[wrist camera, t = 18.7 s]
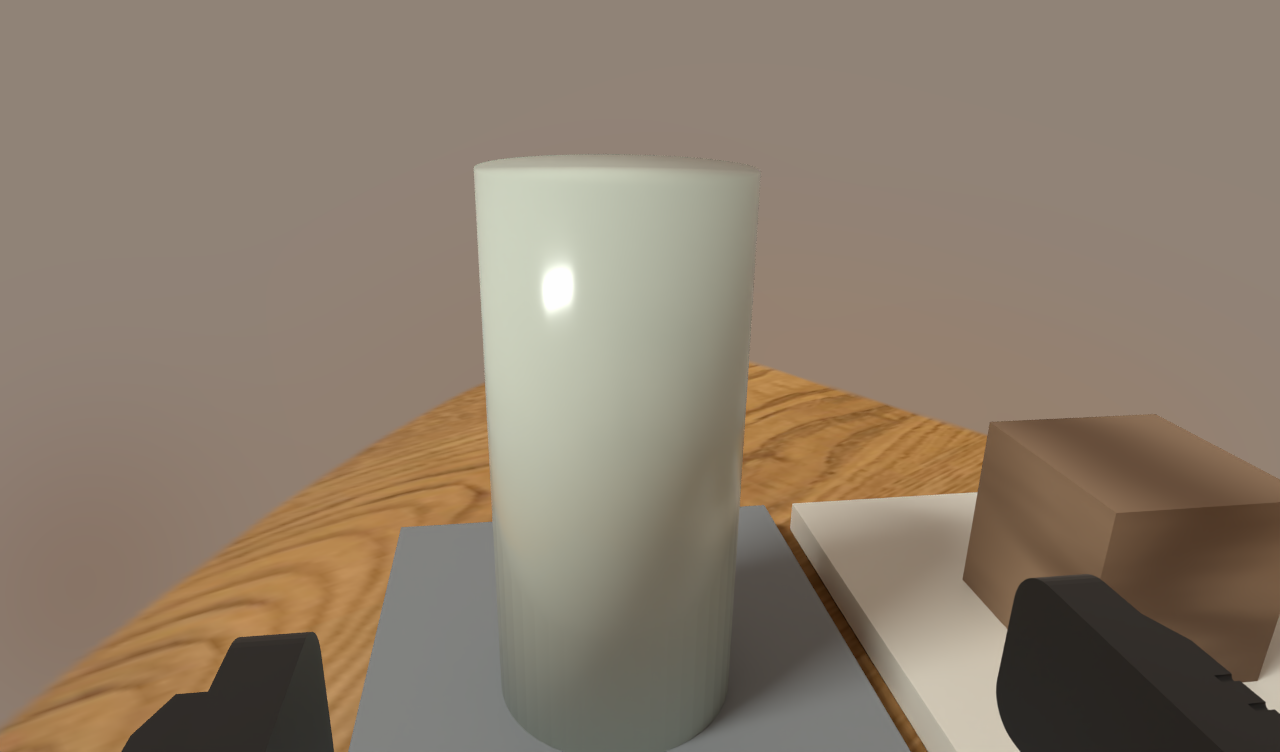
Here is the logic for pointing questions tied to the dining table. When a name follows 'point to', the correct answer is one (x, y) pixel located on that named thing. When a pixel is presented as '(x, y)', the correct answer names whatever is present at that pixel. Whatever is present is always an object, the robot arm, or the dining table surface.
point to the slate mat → (500, 748)
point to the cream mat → (928, 611)
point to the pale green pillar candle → (615, 436)
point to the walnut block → (1133, 527)
